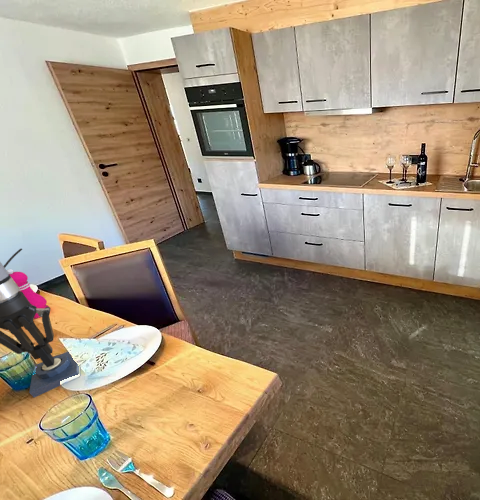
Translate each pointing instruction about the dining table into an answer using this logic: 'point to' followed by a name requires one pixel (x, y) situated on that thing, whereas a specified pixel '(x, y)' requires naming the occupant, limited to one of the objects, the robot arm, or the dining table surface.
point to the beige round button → (56, 363)
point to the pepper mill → (28, 290)
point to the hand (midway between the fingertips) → (50, 363)
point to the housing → (53, 375)
